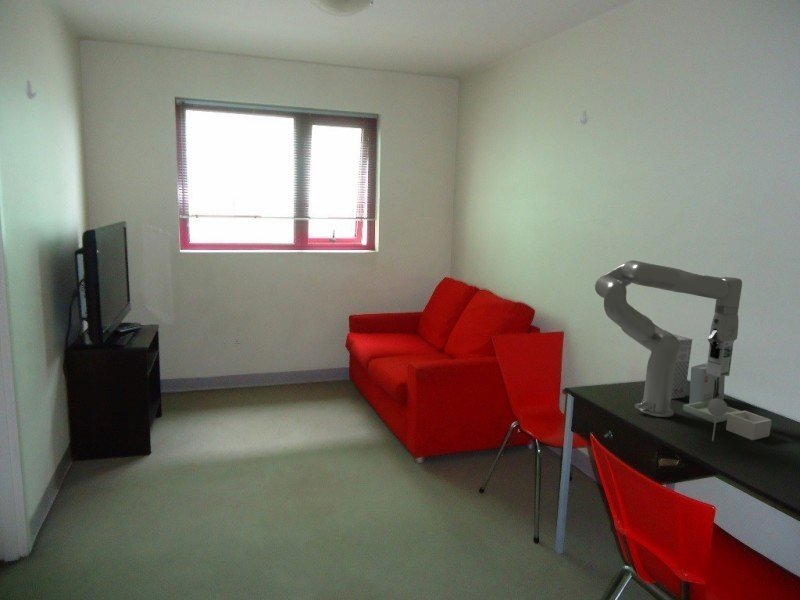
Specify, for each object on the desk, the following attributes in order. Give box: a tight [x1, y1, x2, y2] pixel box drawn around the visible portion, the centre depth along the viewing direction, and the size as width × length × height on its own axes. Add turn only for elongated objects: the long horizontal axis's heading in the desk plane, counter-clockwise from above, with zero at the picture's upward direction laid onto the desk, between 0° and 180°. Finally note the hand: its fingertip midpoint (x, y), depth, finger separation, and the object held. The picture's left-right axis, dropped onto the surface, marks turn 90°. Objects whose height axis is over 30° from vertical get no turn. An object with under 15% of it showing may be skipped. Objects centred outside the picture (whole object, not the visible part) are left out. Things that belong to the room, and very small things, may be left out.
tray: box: [682, 400, 741, 424], centre depth 212 cm, size 16×13×2 cm
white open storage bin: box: [725, 410, 773, 441], centre depth 195 cm, size 10×10×6 cm
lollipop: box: [708, 398, 728, 442], centre depth 185 cm, size 6×6×15 cm
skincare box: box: [688, 362, 726, 404], centre depth 226 cm, size 21×5×16 cm, turn 128°
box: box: [671, 334, 693, 400], centre depth 231 cm, size 8×8×25 cm
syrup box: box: [706, 338, 735, 377], centre depth 208 cm, size 6×6×14 cm
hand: (719, 356), depth 208 cm, fingers closed on syrup box, 5 cm apart
